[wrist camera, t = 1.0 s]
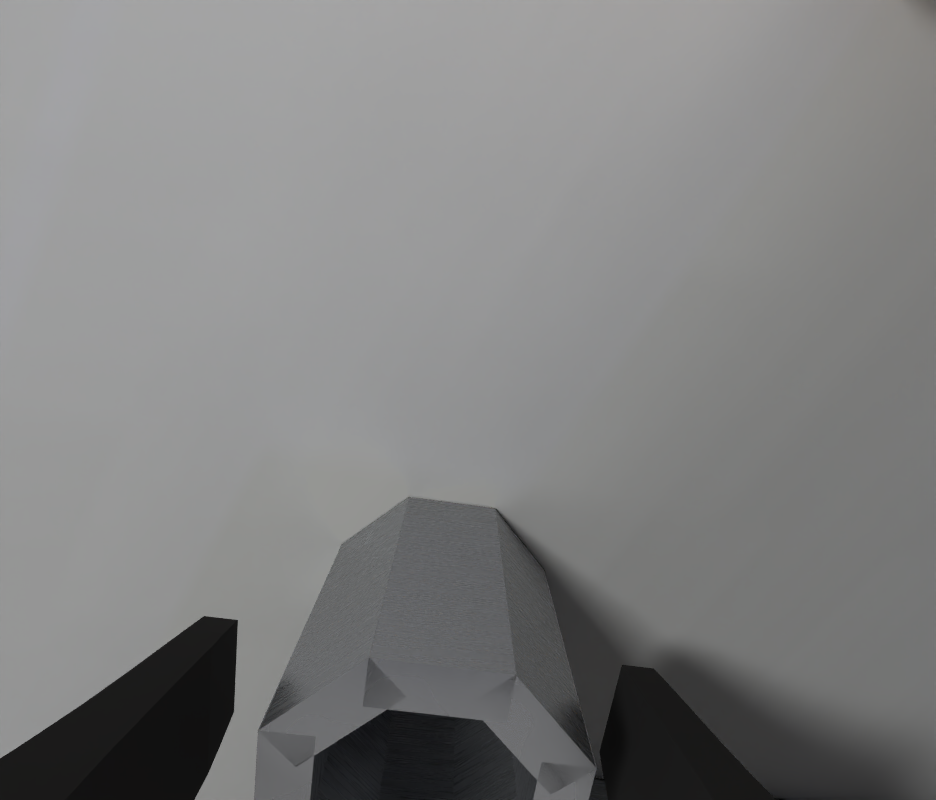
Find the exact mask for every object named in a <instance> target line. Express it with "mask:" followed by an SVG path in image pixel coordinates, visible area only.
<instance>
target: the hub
mask: <svg viewBox="0 0 936 800" xmlns="http://www.w3.org/2000/svg"><path fill="white" fill-rule="evenodd" d="M596 769H597V767H596V763H595V760H594V756H593V752H592V748H591V744H590V741H589V737H588V733H587V729H586V726H585V722H584V718H583V714H582V710H581V707H580V703H579V699H578V695H577V691H576V688H575V684H574V680H573V676H572V673H571V669H570V665H569V661H568V657H567V654H566V650H565V646H564V642H563V639H562V635H561V631H560V627H559V623H558V620H557V616H556V612H555V608H554V605H553V601H552V597H551V593H550V589H549V586H548V582H547V578H546V574H545V570H544V569H543V568H542V567H541V565H540V564H539V563H538V562H537V560H536V559H535V558H534V557H533V555H532V554H531V553H530V552H529V550H528V549H527V548H526V547H525V545H524V544H523V543H522V542H521V540H520V539H519V538H518V537H517V535H516V534H515V533H514V532H513V530H512V529H511V528H510V527H509V525H508V524H507V523H506V522H505V520H504V519H503V518H502V517H501V515H500V514H499V513H498V512H497V510H496V509H495V508H487V507H480V506H472V505H464V504H457V503H449V502H442V501H434V500H427V499H419V498H411V497H408V498H407V499H406V500H404V501H403V502H401V503H400V504H399V505H397V506H396V507H394V508H393V509H391V510H390V511H389V512H387V513H386V514H384V515H383V516H382V517H380V518H379V519H377V520H376V521H374V522H373V523H372V524H370V525H369V526H367V527H366V528H364V529H363V530H362V531H360V532H359V533H357V534H356V535H355V536H353V537H352V538H350V539H349V540H347V541H346V542H345V543H343V544H342V545H341V547H340V550H339V552H338V554H337V556H336V558H335V561H334V563H333V565H332V567H331V570H330V572H329V574H328V576H327V578H326V581H325V583H324V585H323V587H322V589H321V592H320V594H319V596H318V598H317V601H316V603H315V605H314V607H313V609H312V612H311V614H310V616H309V618H308V621H307V623H306V625H305V627H304V629H303V632H302V634H301V636H300V638H299V641H298V643H297V645H296V647H295V649H294V652H293V654H292V656H291V658H290V660H289V663H288V665H287V667H286V669H285V672H284V674H283V676H282V678H281V680H280V683H279V685H278V687H277V689H276V692H275V694H274V696H273V698H272V700H271V703H270V705H269V707H268V709H267V711H266V714H265V716H264V718H263V720H262V723H261V725H260V727H259V729H258V741H257V759H256V776H255V794H254V800H589V796H590V792H591V788H592V785H593V781H594V777H595V773H596Z"/></svg>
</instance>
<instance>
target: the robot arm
mask: <svg viewBox="0 0 936 800" xmlns="http://www.w3.org/2000/svg"><path fill="white" fill-rule="evenodd" d="M237 625H238V620H232V619H223V618H215V617H206V616H204V617H202V618H201V619H200V620H198V621H197V622H195V623H194V624H193V625H191V626H190V627H188V628H187V629H186V630H184V631H183V632H182V633H180V634H179V635H177V636H176V637H175V638H173V639H172V640H171V641H169V642H168V643H167V644H165V645H164V646H163V647H161V648H160V649H159V650H157V651H156V652H154V653H153V654H152V655H150V656H149V657H148V658H146V659H145V660H144V661H142V662H141V663H140V664H138V665H137V666H135V667H134V668H133V669H131V670H130V671H129V672H127V673H126V674H124V675H123V676H122V677H120V678H119V679H117V680H116V681H115V682H113V683H112V684H110V685H109V686H108V687H106V688H105V689H103V690H102V691H101V692H99V693H98V694H96V695H95V696H93V697H92V698H91V699H89V700H88V701H86V702H85V703H84V704H82V705H81V706H79V707H78V708H76V709H75V710H73V711H72V712H70V713H69V714H67V715H66V716H64V717H63V718H61V719H60V720H58V721H57V722H55V723H54V724H52V725H51V726H49V727H48V728H46V729H45V730H43V731H42V732H40V733H39V734H37V735H36V736H34V737H33V738H31V739H30V740H28V741H27V742H25V743H24V744H22V745H21V746H19V747H18V748H16V749H15V750H13V751H11V752H10V753H8V754H7V755H5V756H3V757H2V758H0V800H194V799H195V797H196V795H197V793H198V792H199V790H200V788H201V786H202V784H203V782H204V780H205V778H206V776H207V775H208V772H209V770H210V768H211V765H212V763H213V761H214V758H215V756H216V754H217V751H218V749H219V747H220V744H221V742H222V739H223V737H224V735H225V732H226V730H227V727H228V725H229V722H230V720H231V717H232V715H233V713H234V696H235V672H236V649H237ZM600 756H601V762H602V768H603V774H604V780H605V786H606V791H607V796H608V800H775V799H774V798H773V797H772V796H771V795H770V794H769V793H768V792H767V790H766V789H765V788H764V787H763V786H762V785H761V784H760V783H759V782H758V781H757V780H756V779H755V778H754V777H753V776H752V775H751V774H750V773H749V772H748V771H747V770H746V769H745V768H744V767H743V765H742V764H741V763H740V762H739V761H738V760H737V759H736V758H735V757H734V756H733V755H732V754H731V753H730V752H729V750H728V749H727V748H726V747H725V746H724V745H723V744H722V743H721V742H720V741H719V740H718V738H717V737H716V736H715V735H714V734H713V733H712V732H711V731H710V730H709V729H708V728H707V726H706V725H705V724H704V723H703V722H702V721H701V720H700V719H699V718H698V716H697V715H696V714H695V713H694V712H693V711H692V710H691V709H690V708H689V707H688V705H687V704H686V703H685V702H684V701H683V700H682V699H681V698H680V697H679V695H678V694H677V693H676V692H675V691H674V690H673V689H672V688H671V687H670V686H669V684H668V683H667V682H666V681H665V680H664V679H663V678H662V677H661V676H660V675H659V674H658V673H657V672H656V671H655V670H654V669H652V668H643V667H635V666H626V665H622V667H621V671H620V675H619V679H618V683H617V686H616V690H615V694H614V698H613V702H612V706H611V710H610V713H609V717H608V721H607V725H606V729H605V733H604V737H603V741H602V744H601V748H600Z"/></svg>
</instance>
